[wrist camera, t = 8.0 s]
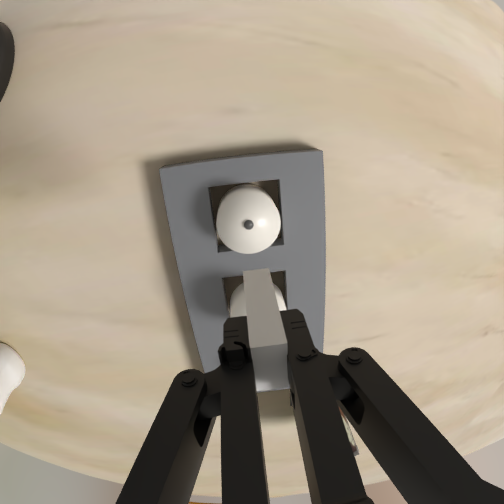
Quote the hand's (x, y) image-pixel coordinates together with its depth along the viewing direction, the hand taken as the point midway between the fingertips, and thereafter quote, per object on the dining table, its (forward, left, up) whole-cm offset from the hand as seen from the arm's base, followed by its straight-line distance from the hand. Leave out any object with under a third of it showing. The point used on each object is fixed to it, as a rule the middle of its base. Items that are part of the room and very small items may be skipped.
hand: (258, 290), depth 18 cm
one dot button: (0, 0, -16) cm, 16 cm away
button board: (+10, 0, -16) cm, 19 cm away
